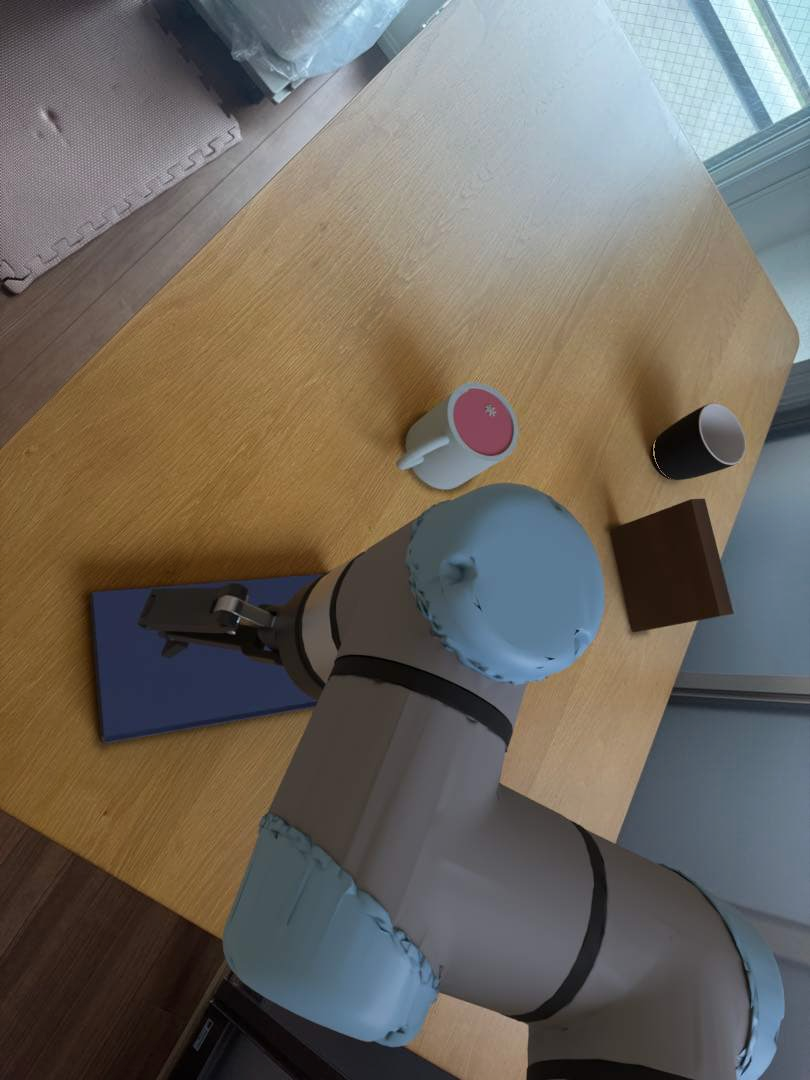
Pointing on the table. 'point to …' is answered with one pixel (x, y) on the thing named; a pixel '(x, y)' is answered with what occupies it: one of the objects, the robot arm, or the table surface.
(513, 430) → the mug
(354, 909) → the robot arm
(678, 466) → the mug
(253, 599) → the book
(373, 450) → the table surface
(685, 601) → the dark brown flat block
